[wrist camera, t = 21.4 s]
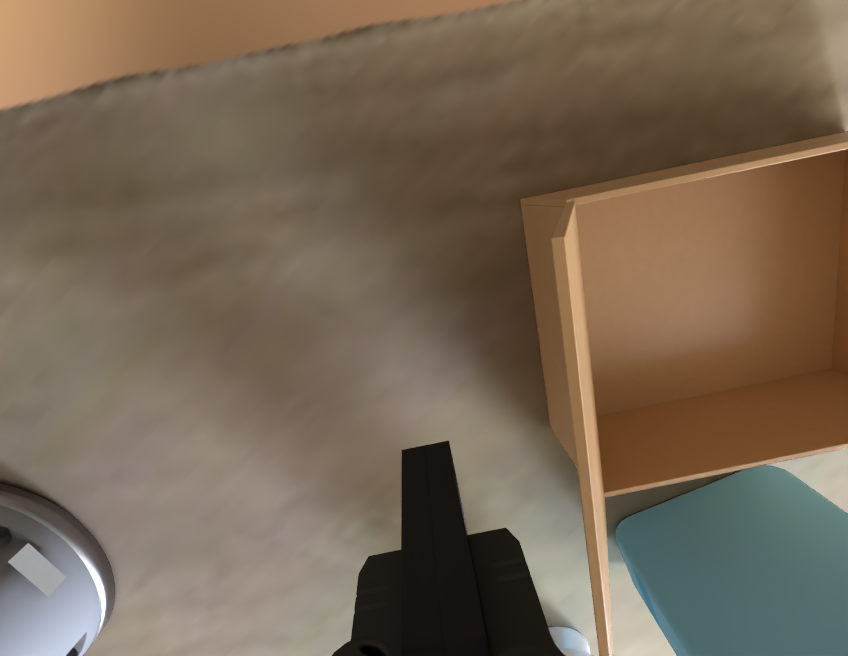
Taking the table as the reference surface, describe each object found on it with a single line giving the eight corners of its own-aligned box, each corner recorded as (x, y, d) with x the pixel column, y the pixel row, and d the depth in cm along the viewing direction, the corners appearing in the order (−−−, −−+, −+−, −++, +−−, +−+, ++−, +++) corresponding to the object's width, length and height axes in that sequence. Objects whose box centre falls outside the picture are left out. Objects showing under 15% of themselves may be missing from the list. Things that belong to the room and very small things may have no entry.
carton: (550, 427, 29) (597, 499, 22) (520, 199, 25) (565, 199, 18) (831, 370, 29) (966, 424, 22) (846, 131, 25) (1018, 106, 18)
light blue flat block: (624, 570, 33) (745, 769, 22) (605, 523, 32) (722, 708, 20) (783, 507, 32) (996, 679, 21) (770, 456, 31) (989, 610, 19)
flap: (605, 507, 22) (598, 506, 22) (574, 200, 18) (567, 201, 18) (616, 713, 14) (605, 711, 14) (564, 236, 10) (550, 238, 10)
